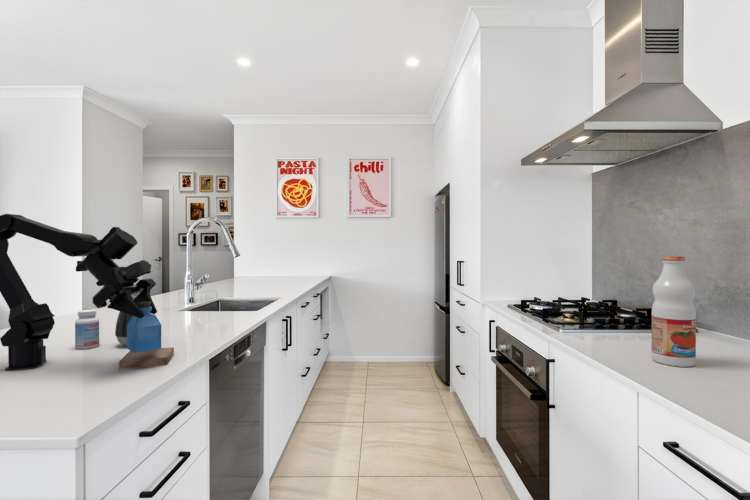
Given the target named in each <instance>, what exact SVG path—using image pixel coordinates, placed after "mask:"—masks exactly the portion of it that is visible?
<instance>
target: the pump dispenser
mask: <svg viewBox="0 0 750 500" xmlns="http://www.w3.org/2000/svg"><path fill="white" fill-rule="evenodd" d="M131 318H132V315H130V314H127V313H124V312H121V311H119V313H118V315H117V319H116V323H115V328H114V329H115V331H114V335H115V337H116V340H117V341H118V343H119V344H120V345H121V346H124V347H127V324H128V322H129V321H130V319H131Z"/></svg>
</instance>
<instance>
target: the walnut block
mask: <svg viewBox="0 0 750 500" xmlns="http://www.w3.org/2000/svg"><path fill="white" fill-rule="evenodd" d="M174 355H175V347H173V346H172V347H171V346H170V347H161V349H155V350H149V351H143V352H137V353H134V352H132V351H130V350H129V351H128V352H127V353H126V354H125V355H124V356H122V358H121V359H119V361H118V369H119V370H123V369H124V370H125V369H136V368H146V367H148V368H149V367H157V366H159V367H160V366H167V365H169V363H170V361H171V360H172V358H173V356H174Z"/></svg>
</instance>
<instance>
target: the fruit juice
mask: <svg viewBox="0 0 750 500" xmlns="http://www.w3.org/2000/svg"><path fill="white" fill-rule="evenodd" d="M661 263H662V264H663V266H662V270H661V271H660V272H661V273H660V275H659V277H658V278H657V279H656V280H655V282H654V283H653V285H652V294H653V297H654V300H653V303H652V307H651V350H650V351H651V353H650V354H651V359H652V361H654V362H656V363H657V364H662V365H666V366H672V367H680V368H690V367H694V366H695V365H696V362H697V361H696V357H697V355H696V353H697V352H696V351H697V346H696V344H697V339H696V338H697V331H696V330H697V325H696V324H697V312H696V307H695V305H694V299H695V297H696V287H695V285H694V283H693V282H692V281H691V280H690V279H689V277H688V276H687V272H686V270H685V263H686V257H685V256H678V255H677V256H676V255H675V256H673V255H668V256H667V255H666V256H664V255H663V256H662V258H661Z"/></svg>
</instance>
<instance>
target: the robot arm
mask: <svg viewBox="0 0 750 500" xmlns="http://www.w3.org/2000/svg"><path fill="white" fill-rule="evenodd" d="M16 234H20V235H24V236H26V237H29V238H33V239H35V240H38V241H41V242H43V243H47V244H49V245H51V246H53V247H54V248H55V249H56V250H57V251H59V252H60V253H62V254H64V255H66V256H68V257H73V258H74V257H75V258H76V257H85V258H84V259H82V260H77V261H76V266H75V272H79V273H80V272H89V273H90V274H91V275H92V276H93V278H95V279H96V280H97V281H96V283H95V284H96V285H97V287H102V288H101V289H100V290H98V291H97V293H95V295H94V296H93V297H92V304H93V305H94V306H95V308H97V309H101V308H105V307H106V308H107V309H112V310H115V311H119V312H120V311H121V312H124V313H127V314H130V315H132V316H135V317H138V318H143V317H144V314H143V312H142V311H141V310H140V308H139V307H138V304H137V302H146V301H149V302H151V305H150V306H152V310H151V314H153V315H156V314H157V313H158V310H157V307H156V305H155V303H154V301H153V300H152V299H153V298H152V296H151V290H152V289H153V288H154V287H155V286H156V285H157V282H156V281H155V280H154V279H152V278H142V279H140V280H139V278H140V277H141V276H142V277H143V276H144V275H147V274H150V273H152V264H151V263H149V262H148V261H147V260H145V259H141V260H140V261H136V262H134V263H131V264H129V265H127V266H119V265H118V264H117V263H116V262H115V261H114V260H122V259H124V257H125V256H127V255H128V253H129V252H131V250H132V249H133V248H134V247H135V246H136V245H137V244H138V239H136V238H135V236H133V235H132V234H130V233H128V231H125V230H124V229H121V228H120V227H119V226H112V227H111V229H110V230H109V231H108V233H107V234H105V235H104V236H103V237H102V238H101V239H98V238H97V237H96V236H94V235H92V234H88V233H81V232H75V231H65V230H62V229H59V228H57V227H53V226H51V225H48V224H46V223H42V222H39V221H37V220H36V221H35V220H33V219H30V218H27V217H25V216H23V215H21V214H14V213H13V214H11V213H3V214H1V215H0V294H1V296H2V297H3V299H4V301H5V304H6V305H7V307H8V308H9V315H8V321H7V322H8V324H9V329H8V330H7V331H6V332H5V333H3V335H2V336H1V337H0V343H1V346H2V347H7V350H8V353H7V354H8V356H7V357H8V365H7V367H5V368H4V371H13V370H15V371H16V370H26V369H35V368H38V367H40V366H41V365H43V364H45V363H46V362H47V361H48V360H47V352H46V351H47V350H46V349H47V347H46V345H44V340H49V336H50V335H51V331H52V330H53V328H54V325H55V319H54V317H55V314H53V313H52V310H50V307H49V305H48V304H47V303H46V302H45V303H38V302H36V301H35V300H34V299H33V298H32V296H31V294H30V292H29V290H28V288H27V287H26V284H25V283H24V282H23V279H22V278H21V275H20V274H19V273H18V271H17V269H16V267H15V266H14V264H13V262H12V260H11V259H10V256H9V255H8V249H9V246H10V245H9V239H11V238H13V237H15V236H16ZM108 300H109V301H108ZM107 301H108V302H109V304H108V303H107Z"/></svg>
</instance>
